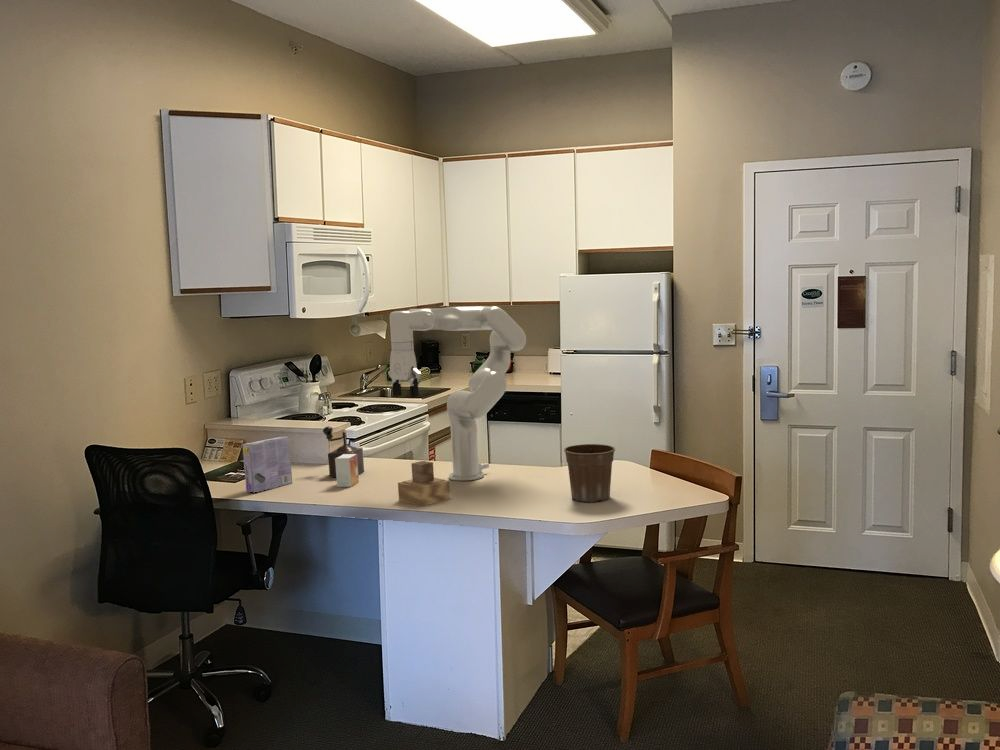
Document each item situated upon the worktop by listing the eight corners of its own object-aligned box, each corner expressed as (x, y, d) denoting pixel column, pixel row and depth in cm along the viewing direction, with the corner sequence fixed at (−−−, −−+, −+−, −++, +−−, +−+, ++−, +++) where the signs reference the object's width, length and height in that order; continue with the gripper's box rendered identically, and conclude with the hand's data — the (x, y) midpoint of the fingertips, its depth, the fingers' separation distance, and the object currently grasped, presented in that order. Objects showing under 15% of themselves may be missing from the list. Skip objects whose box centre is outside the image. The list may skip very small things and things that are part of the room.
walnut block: (424, 478, 302) (423, 460, 302) (434, 480, 299) (432, 462, 298) (412, 481, 299) (411, 463, 298) (421, 483, 295) (420, 465, 295)
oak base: (427, 493, 308) (426, 475, 307) (450, 498, 299) (449, 479, 298) (398, 500, 300) (397, 481, 299) (421, 506, 291) (419, 486, 290)
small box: (351, 487, 323) (349, 458, 322) (336, 487, 325) (334, 458, 323) (359, 482, 331) (357, 453, 330) (344, 482, 332) (342, 453, 331)
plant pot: (619, 492, 297) (617, 443, 295) (614, 504, 281) (612, 453, 279) (570, 491, 300) (567, 443, 298) (562, 504, 285) (560, 453, 283)
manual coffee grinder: (365, 471, 349) (362, 425, 347) (354, 477, 339) (351, 430, 337) (328, 471, 353) (325, 425, 351) (316, 477, 342) (312, 430, 340)
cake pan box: (286, 481, 338) (282, 434, 337) (295, 482, 336) (292, 435, 334) (244, 493, 323) (240, 443, 321) (254, 494, 320) (250, 444, 318)
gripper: (378, 347, 316) (382, 396, 318) (409, 348, 304) (412, 399, 306) (396, 345, 321) (399, 393, 323) (426, 346, 309) (430, 396, 311)
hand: (405, 396), depth 314 cm, fingers open, 9 cm apart
